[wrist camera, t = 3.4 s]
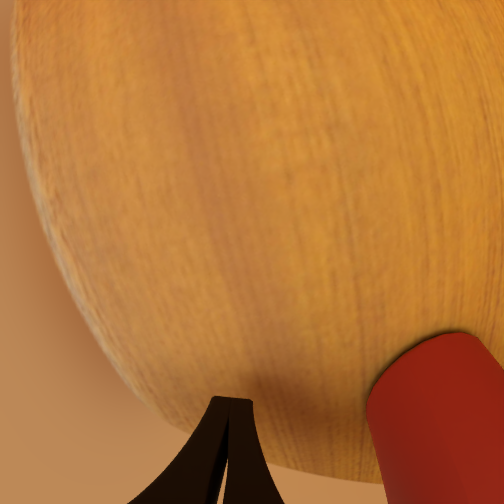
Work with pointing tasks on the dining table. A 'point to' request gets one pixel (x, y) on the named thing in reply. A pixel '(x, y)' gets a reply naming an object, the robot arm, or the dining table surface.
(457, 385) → the beer can
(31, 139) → the dining table surface
